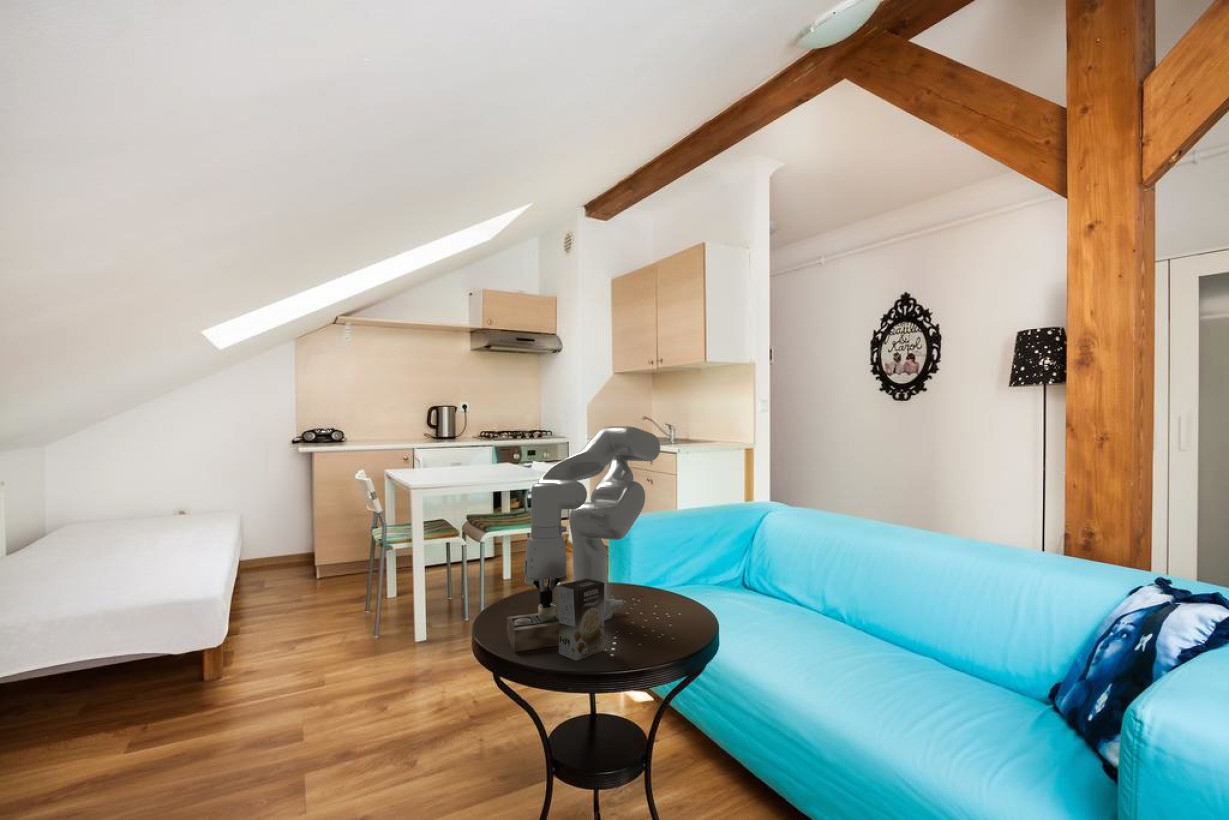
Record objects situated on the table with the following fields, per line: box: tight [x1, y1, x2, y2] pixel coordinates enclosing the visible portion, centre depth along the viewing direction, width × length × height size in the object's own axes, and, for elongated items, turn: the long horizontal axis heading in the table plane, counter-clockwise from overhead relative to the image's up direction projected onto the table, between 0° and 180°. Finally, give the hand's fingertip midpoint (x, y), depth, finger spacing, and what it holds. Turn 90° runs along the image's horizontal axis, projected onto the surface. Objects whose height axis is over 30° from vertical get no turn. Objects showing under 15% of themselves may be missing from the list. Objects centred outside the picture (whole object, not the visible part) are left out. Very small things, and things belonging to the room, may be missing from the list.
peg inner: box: [537, 603, 556, 622], centre depth 142 cm, size 4×4×4 cm
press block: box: [506, 612, 559, 653], centre depth 141 cm, size 12×10×5 cm
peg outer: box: [515, 618, 531, 625], centre depth 140 cm, size 4×4×4 cm
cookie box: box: [558, 579, 605, 662], centre depth 134 cm, size 9×6×16 cm
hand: (545, 605), depth 142 cm, fingers closed
